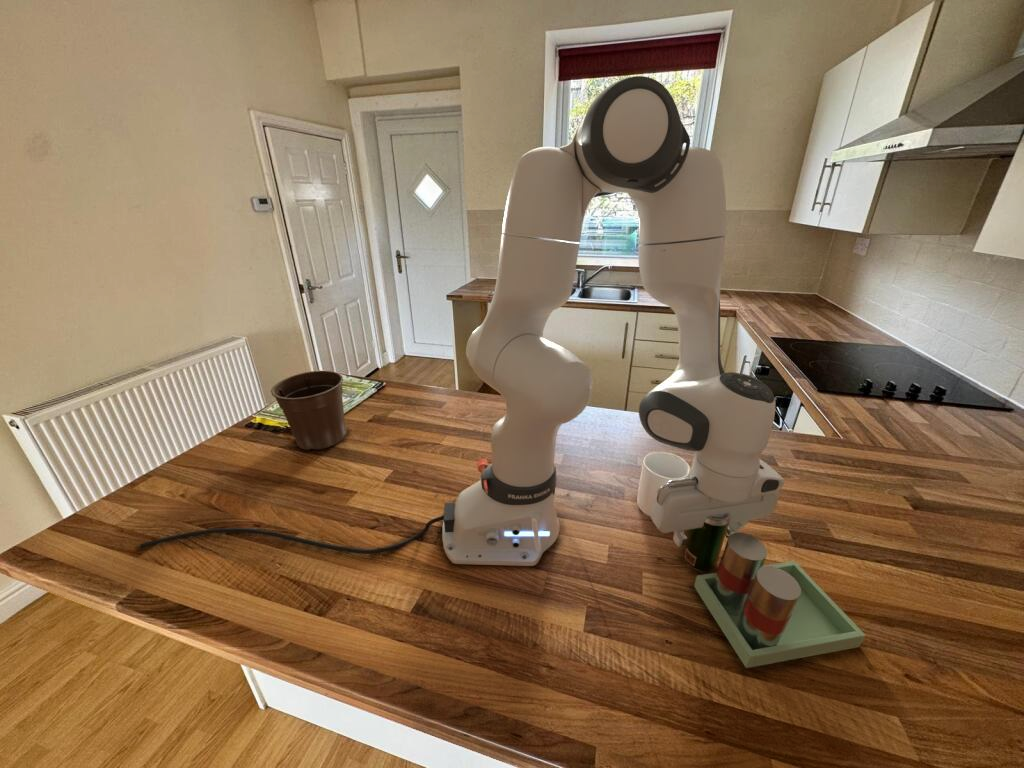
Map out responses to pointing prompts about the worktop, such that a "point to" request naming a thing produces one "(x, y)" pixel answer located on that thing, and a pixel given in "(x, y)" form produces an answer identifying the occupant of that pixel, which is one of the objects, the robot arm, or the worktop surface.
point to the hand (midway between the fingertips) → (704, 539)
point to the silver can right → (768, 607)
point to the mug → (658, 476)
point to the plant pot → (313, 408)
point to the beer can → (706, 543)
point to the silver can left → (738, 571)
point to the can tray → (789, 623)
